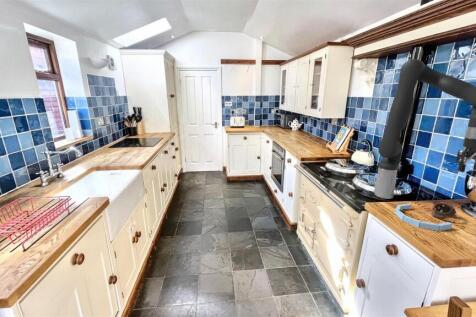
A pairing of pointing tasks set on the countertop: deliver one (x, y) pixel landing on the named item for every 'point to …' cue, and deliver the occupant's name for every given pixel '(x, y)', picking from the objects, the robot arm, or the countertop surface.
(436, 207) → the pottery mug
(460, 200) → the countertop surface
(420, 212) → the countertop surface
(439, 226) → the collar
